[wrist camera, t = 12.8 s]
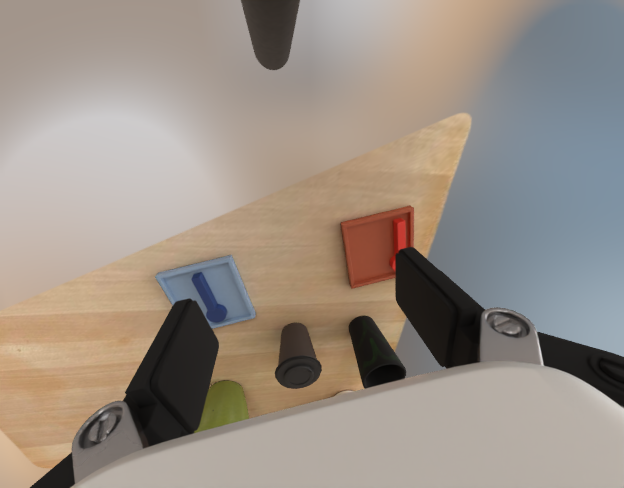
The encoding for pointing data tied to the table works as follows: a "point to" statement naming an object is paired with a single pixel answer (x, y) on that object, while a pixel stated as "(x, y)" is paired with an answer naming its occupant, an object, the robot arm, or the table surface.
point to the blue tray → (221, 283)
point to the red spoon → (398, 238)
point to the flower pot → (223, 406)
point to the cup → (374, 354)
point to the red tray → (374, 245)
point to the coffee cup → (297, 358)
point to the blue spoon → (209, 299)
